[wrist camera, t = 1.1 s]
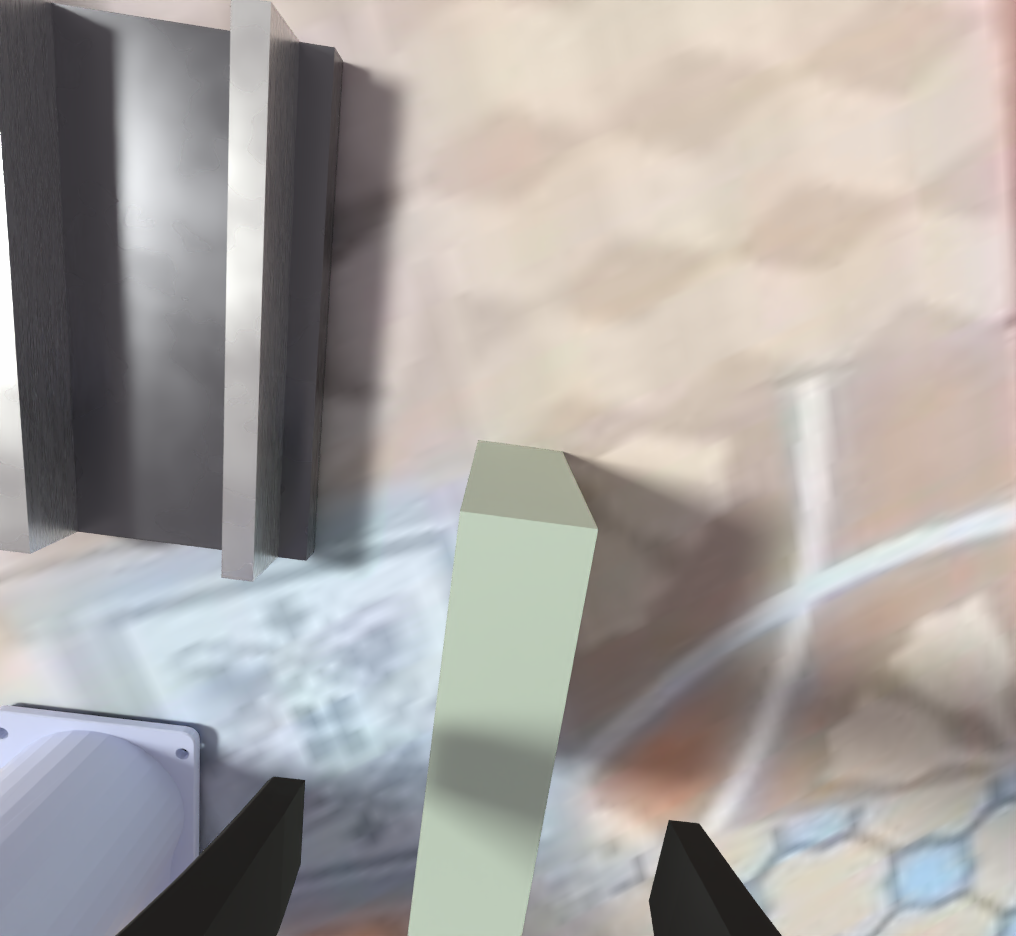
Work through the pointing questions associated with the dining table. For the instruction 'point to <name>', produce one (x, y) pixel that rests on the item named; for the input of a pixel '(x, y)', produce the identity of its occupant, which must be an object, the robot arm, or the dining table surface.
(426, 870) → the door panel
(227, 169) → the track
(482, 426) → the dining table surface
